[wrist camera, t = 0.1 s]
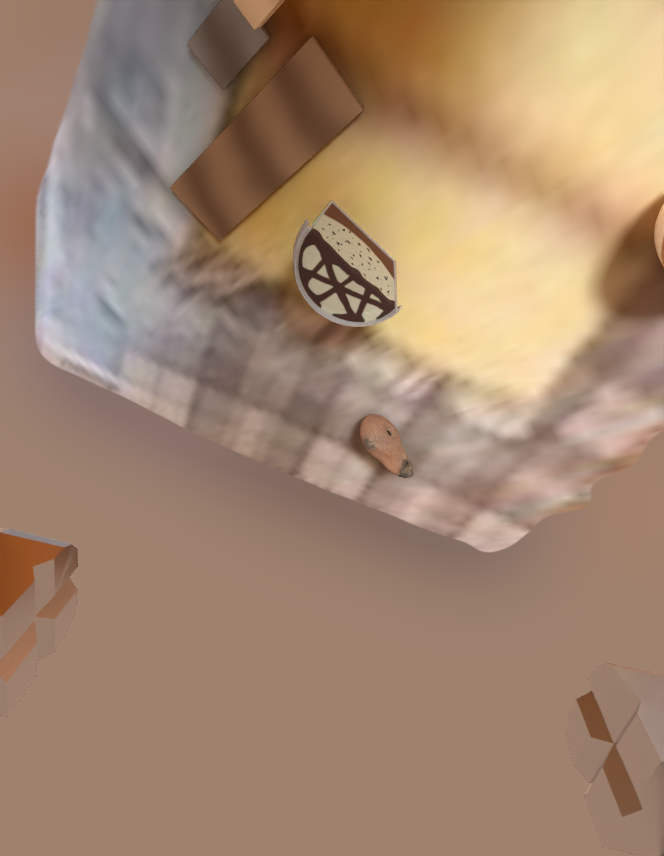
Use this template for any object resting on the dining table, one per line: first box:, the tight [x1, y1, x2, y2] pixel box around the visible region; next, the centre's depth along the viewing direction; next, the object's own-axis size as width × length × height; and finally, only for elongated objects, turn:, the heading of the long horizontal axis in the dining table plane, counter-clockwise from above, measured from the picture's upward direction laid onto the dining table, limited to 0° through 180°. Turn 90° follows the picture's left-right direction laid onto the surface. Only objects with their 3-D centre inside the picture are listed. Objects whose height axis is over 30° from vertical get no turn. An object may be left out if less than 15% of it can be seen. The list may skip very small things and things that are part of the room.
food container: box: [293, 200, 402, 327], centre depth 55 cm, size 12×6×10 cm, turn 49°
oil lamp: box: [360, 414, 414, 478], centre depth 71 cm, size 9×4×8 cm, turn 56°
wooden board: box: [170, 35, 363, 241], centre depth 52 cm, size 20×7×1 cm, turn 130°
